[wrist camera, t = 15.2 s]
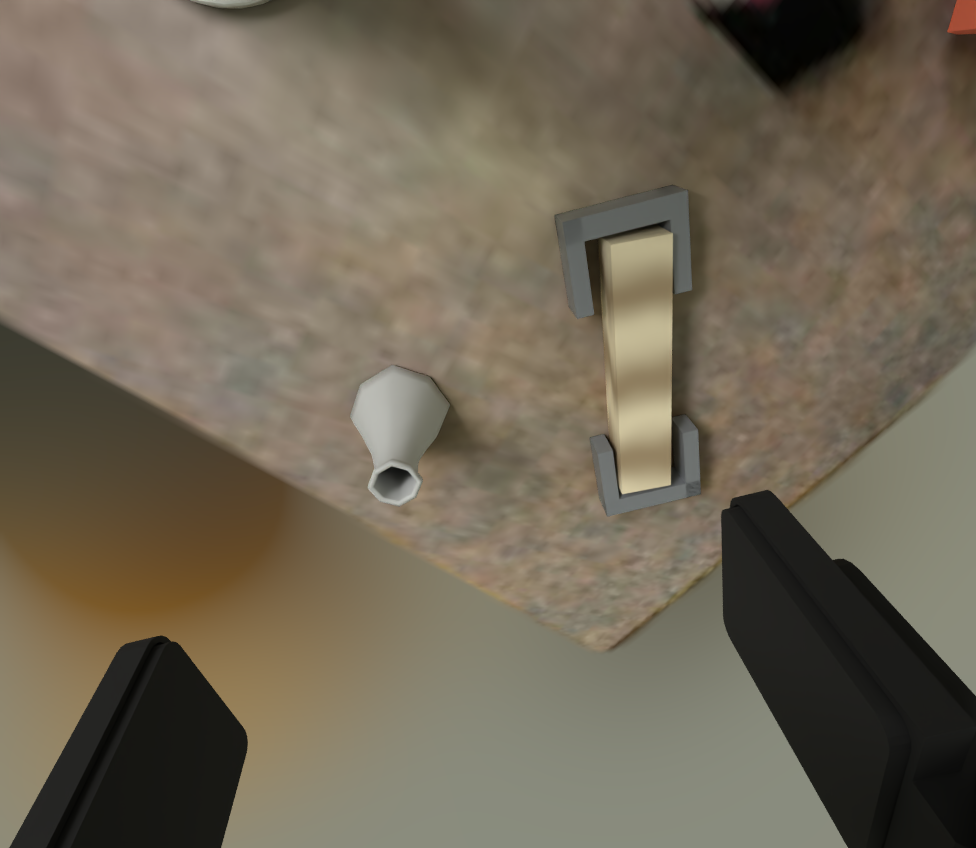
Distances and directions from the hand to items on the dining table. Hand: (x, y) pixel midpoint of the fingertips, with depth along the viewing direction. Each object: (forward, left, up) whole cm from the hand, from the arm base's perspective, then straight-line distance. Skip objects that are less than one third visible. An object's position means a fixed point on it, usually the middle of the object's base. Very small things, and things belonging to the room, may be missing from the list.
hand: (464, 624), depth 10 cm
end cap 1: (+4, +12, -32) cm, 35 cm away
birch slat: (+13, +12, -33) cm, 37 cm away
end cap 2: (+22, +12, -32) cm, 41 cm away
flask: (+12, -6, -33) cm, 35 cm away
